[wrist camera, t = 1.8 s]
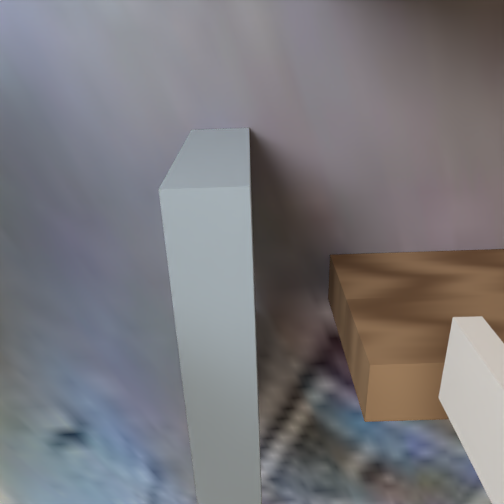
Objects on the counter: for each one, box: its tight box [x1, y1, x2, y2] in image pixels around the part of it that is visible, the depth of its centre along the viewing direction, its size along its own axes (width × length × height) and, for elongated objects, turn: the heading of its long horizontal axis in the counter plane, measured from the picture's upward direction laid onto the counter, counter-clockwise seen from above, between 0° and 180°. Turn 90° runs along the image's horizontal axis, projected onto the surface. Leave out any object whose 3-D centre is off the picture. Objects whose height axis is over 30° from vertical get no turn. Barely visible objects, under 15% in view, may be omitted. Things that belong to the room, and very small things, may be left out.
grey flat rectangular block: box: [159, 128, 262, 504], centre depth 24 cm, size 3×18×10 cm, turn 2°
